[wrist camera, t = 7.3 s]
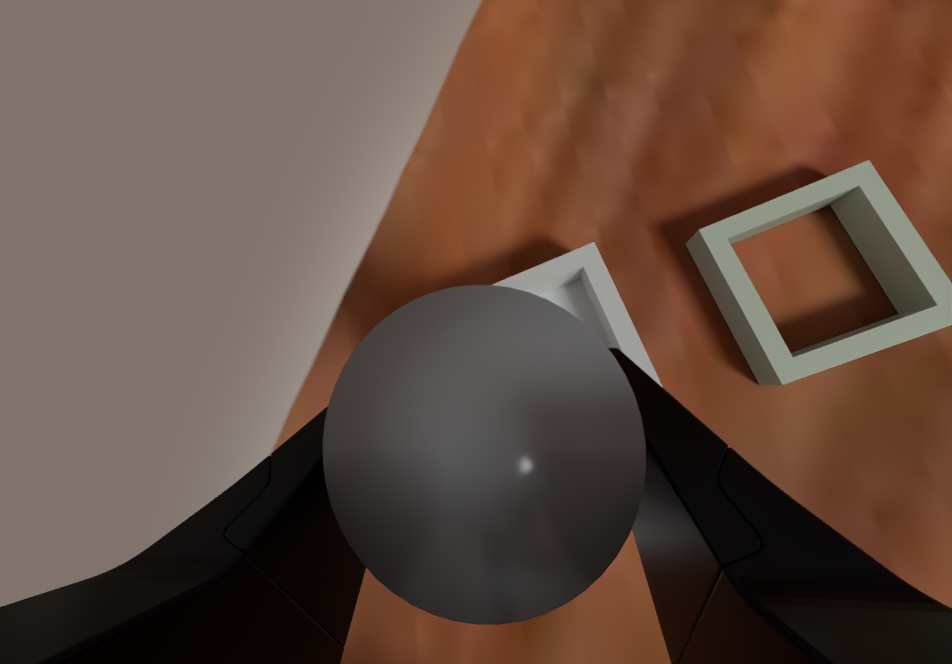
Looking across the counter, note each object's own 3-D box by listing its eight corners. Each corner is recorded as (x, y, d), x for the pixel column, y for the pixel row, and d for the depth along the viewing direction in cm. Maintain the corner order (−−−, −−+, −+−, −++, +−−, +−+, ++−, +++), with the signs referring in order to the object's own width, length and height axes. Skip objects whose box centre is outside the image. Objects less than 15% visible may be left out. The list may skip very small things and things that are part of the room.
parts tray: (689, 480, 20) (713, 495, 17) (460, 557, 21) (446, 583, 19) (588, 261, 23) (594, 241, 20) (390, 342, 24) (368, 336, 21)
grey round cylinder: (609, 410, 15) (725, 442, 5) (522, 504, 15) (478, 707, 5) (514, 326, 16) (467, 225, 6) (434, 413, 16) (266, 443, 6)
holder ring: (930, 324, 19) (974, 316, 17) (759, 385, 20) (782, 384, 18) (838, 181, 21) (868, 160, 19) (685, 244, 22) (698, 229, 20)
